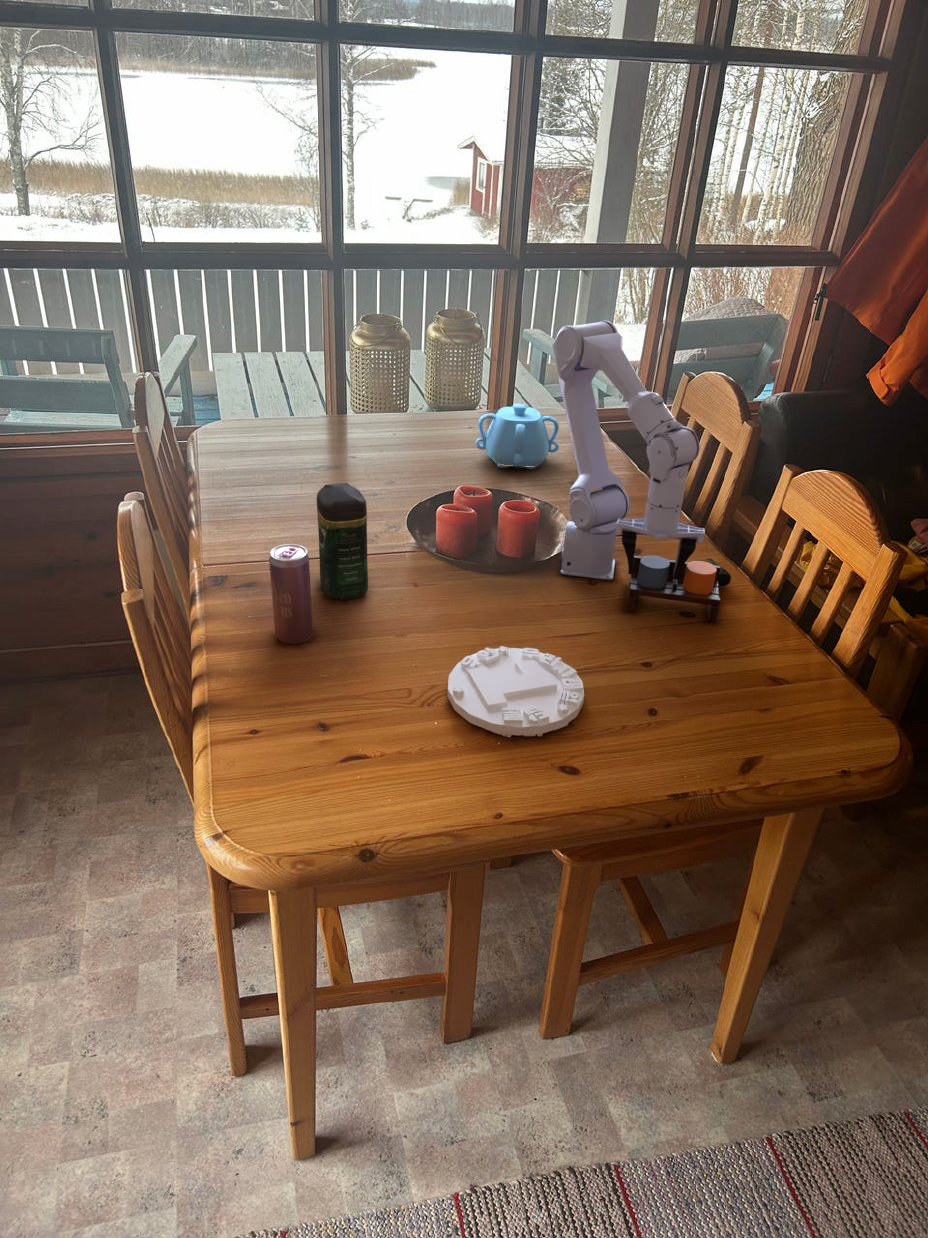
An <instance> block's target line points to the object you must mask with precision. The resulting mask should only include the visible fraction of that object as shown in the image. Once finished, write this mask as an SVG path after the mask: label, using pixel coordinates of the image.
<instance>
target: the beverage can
mask: <svg viewBox="0 0 928 1238" xmlns="http://www.w3.org/2000/svg"><path fill="white" fill-rule="evenodd" d="M268 564H269V576H270V587H271V588H270V590H271V600H272V601H271V602H272V613H273V626H274V635H275V637H276V638H277V639H278V640H279V641H280V642H281V643H284V644H287V645H299V644H303V643H305V642H308V640H309V639H310V638H311V636H312V635H313V633H314V627H313V610H312V608H313V607H312V591H311V589H312V588H311V575H310V574H311V572H310V557H309V554H308V550H307V548H306V547H305V546H302V545H300V544H294V543H287V544H286V543H285V544H280V545H278V546H274V547H273V548H271V550H270V551H269V558H268Z"/></svg>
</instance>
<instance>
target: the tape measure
mask: <svg viewBox="0 0 928 1238" xmlns="http://www.w3.org/2000/svg"><path fill="white" fill-rule="evenodd" d="M693 561H704V562H708V563H710V564H712V565H716V566H720V572H719V577H718V588H723V587H726V586H728V585H729V584H730V583H731V580H732V575H731V573H730V572H728V570H726V568H724V567H723V566H721V565H720V564H719V563H717V562H716V561H715V560H714V559H713V558H711V557H709V558H705V559H703V558H702V559H701V558H698V559H694V560H693Z"/></svg>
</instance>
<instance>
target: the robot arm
mask: <svg viewBox="0 0 928 1238" xmlns="http://www.w3.org/2000/svg"><path fill="white" fill-rule="evenodd" d="M623 339H624V338H623V336H622V335H621V334H620V332H619V331H618V329H617V327H616V326H615V324H614V323H613V322H612V321H609V320H600V321H599V322H592V323H585V324H583V323H582V324H576V325H565V326H562V327H561V328H560V329H559V331H557V334H556V336H555V338H554V341H553V343H552V350H553V354H554V360H555V364H556V369H557V375H558V383H559V387H560V393H561V397H562V403H563V406H564V411H565V416H566V422H567V426H568V430H569V435H570V440H571V445H572V450H573V454H574V459H575V463H576V468H577V474H578V477H577V479H576V480H575V482H574V483H573V484H572V486H571V487H570V489H569V491H568V492H569V497H570V504H569V515H570V517H571V520H572V521H570V520H569V521H567V523H566V527H565V532H564V533H565V534H564V542H563V548H562V549H561V558H560V559H561V570H560V574H561V575H565V576H574V577H582V578H588V579H596V580H603V581H604V580H606V581H612V580H614V572H615V564H616V560H615V559H614V557H615V549H616V541H617V534H618V535H621V542H622V546H623V548H624V549H623V550H624V551H625V555H626V558H627V566H628V567H627V569H628V572H627V573H628V575H631V574H633V565H634V556H635V553H636V552H635V551H636V546H637V540H638V539H637V537H638V535H640V536H648V537H653V539H655V540H661V541H665V540H667V539H674V540H679V541H678V549H677V554H676V559H675V561H676V562H675V566H674V571H673V580H677V579H678V575H679V573H680V571H681V569H682V567H683V565H684V564H685V562H688V560H689V558H690V557H691V556H692V555H693V554H694V553H695V550H696V548H697V544H704V541H705V535H706V530H705V529H706V528H703V527H698V526H692V525H689V524H685V523H681V522H680V520H681V514H682V513H681V512H682V508H683V502H684V497H685V491H686V485H687V480H688V473H689V467H690V463H693V462H694V461H695V460H697V458H698V456H699V454H700V449H701V448H700V447H701V445H700V441H699V438H698V436H697V434H696V431H695V430H694V429H693V428H690V427H689V426H685V425H683V423H682V422H678V421H677V419H676V418H675V416H674V414H672V412H671V411H670V410H669V408H668V406H667V405H666V404H665V400H664V398H663V397H662V395H659V394H658V393H657V392H654V391H648V390H647V389H646V387H645V386H644V384H643V382H642V380H641V379H640V377H639V375H638V373H637V372H636V370H635V368H634V367H633V365H632V363H631V362H630V360H629V359H628V356H627V354H626V353H625V351H624V350H623V341H624V340H623ZM599 371H601V372H603V374H604V375H605V377H607V379H608V380H609V381H610V383H612V385H613V386H614V387H615V388H616V390H617V391H618V392H619V394H620V395H621V396H622V397H623V399H625V401H626V403H627V404H628V406H627V416H628V418H629V419H630V420H631V422H632V424H633V425H634V426H635V428H636V429H637V431H638V432H639V434H640V436H641V437H642V438H643V440H644V441H645V443H646V444H647V446H646V455H647V460H648V463H649V469H648V472H649V476H650V479H649V484H648V485H649V486H648V492H647V499H646V505H645V512H644V517H643V518H626V517H627V516H628V515H629V512H630V510H631V509H630V508H631V502H630V498H629V495H628V494H627V491H626V489H625V488H624V486H623V481H622V478H621V477H620V476H619V475H617V474H615V473H614V472H613V471H611V470H610V469H609V462H608V458H607V453H606V449H605V444H604V439H603V434H602V429H601V423H600V418H599V414H598V408H597V404H596V399H595V394H594V393H595V392H594V388H593V383H592V382H593V380H594V378H595V376H596V374H598V372H599Z"/></svg>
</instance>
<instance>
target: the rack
mask: <svg viewBox="0 0 928 1238" xmlns="http://www.w3.org/2000/svg"><path fill="white" fill-rule="evenodd" d="M642 557H643V556H642V555H641V556H640V555H634V565H633V574H629V575H630V576H629V582H628V591H627V603H626V613H631V614H634V612H635V606H636V600H637V599H636V598H637V596H639V597H646V598H654V599H661V600H669V601H677V602H685V603H693V604H701V605H706V606H707V607H706V609H707V623H708V624H716V623H717V618H718V613H719V609H720V607H719V606H720V604H721V598H720V591H719V587H718V577H719V572H720V566H721V565H720V566H716V565H714V566H715V567H716V569H717V571H716V576H715V581H714V586H713V590H712V592H711V593H710V594H707V595H696V594H692V593H690V592H688V591H686V590H685V589H684V588H683V583H684V577H685V572H686V566H687V564H688V563H689V562H690V561H686V562H685V564H684V565H683V567H682V569H681V571H680V573H679V575H678V579H677V580H673V571H674V566H675V562H676V560H674V559H667V560H668V561H669V563H670V566H669V572H668V578H667V584H666V586H665V587H664V588H661V589H649V588H645V587H643V586H641V585H640V584H639V583H638V581H637V579H638V572H639V566H640V560H641V558H642Z"/></svg>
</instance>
